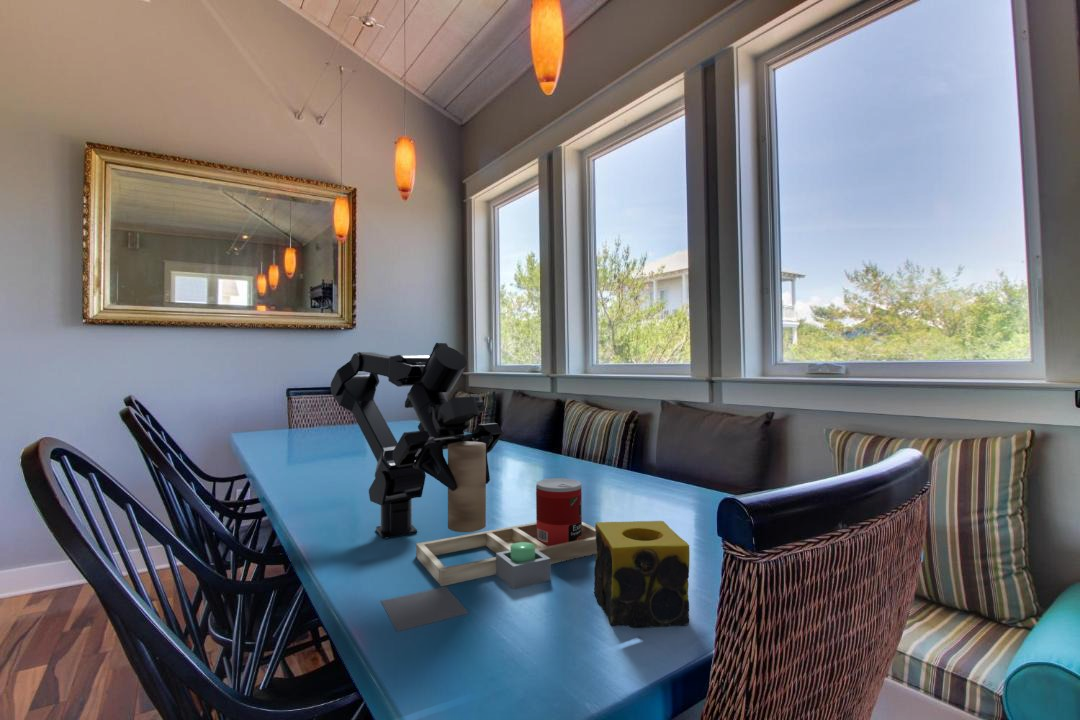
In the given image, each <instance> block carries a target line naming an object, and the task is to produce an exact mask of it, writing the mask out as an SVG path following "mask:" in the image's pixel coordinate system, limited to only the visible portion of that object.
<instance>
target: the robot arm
mask: <svg viewBox="0 0 1080 720" xmlns="http://www.w3.org/2000/svg"><path fill="white" fill-rule="evenodd" d="M467 364H468V363H467V359H466V357H465V355H464V354H462V353H461V352H459V351H458V350H457V349H455V348H452V347H450V346H449V345H448V343H447V342H435V344H434V346H433V348H432V350H431V353H430V355H429V354H395V355H387V354H381V353H377V352H374V351H373V352H372V351H369V352H368V351H367V352H366V351H363V352H362V351H358V352H356V353H353V355H352V356H351V358H350V360H349V361H348V362H347V363H345V364H344V365H342V366H340V367H339V368H338V369H337V370H336V371H335V374H334V376H333V377H332V379H331V382H330V392H331V395H332V396H333V398H334V400H335V401H336V402H337V403H338V405H339V406H340V407H341V408H343V409H346V410H347V411H350V412H351V413H352V414H353V417H354V419H355V421H356V422H357V424H358V427H359V429H360V430H361V432H362V434H363V436H364V437H365V440H366V442H367V444H368V446H369V448H370V450H371V452H372V455H373V456H374V458H375V460H376V462H377V463H376V468H375V471H374V480H373V481H372V483H371V485H370V487H369V489H368V496H369V501H370V502H371V503H374V504H376V505H379V506H380V525H378V526H376V527H375V531H376V532H377V533H378V534H379V536H380V538H382V539H389V538H394V537H401V536H407V535H412V534H417V533H418V529H417V528H416V527H415V526H414V525H413V523H412V522H413V521H412V520H413V519H412V515H413V514H412V510H413V509H412V500H413V499H417V498H422V497H423V491H424V487H425V482H426V478H427V475H429V476H431V477H432V478H434V479H435V480H437V481H438V482H439V483H441V484H442V485H443V486H445V487H446V488H447V489H448V488H449V489H451V490H452V491H455V490H456V488H457V484H456V482H455V479H454V476H453V474H452V472H451V470H450V468H449V466H448V461H446V458H445V455H444V451H446V450H447V451H448V444H450V443H455V442H482V443H485V444H486V485H487V484H489V482H490V480H491V479H490V478H491V476H490V469H489V461H488V454H489V453H490V452H491V451H492V450H493V449H494V447H495V446H496V445H497V443H498V442H499V440H500V439H501V438H502V436H503V434H504V432H503V430H502V428H501V426H500V424H499V423H496V422H489V423H479V424H477V426H476V427H475V429H474V430H473V432H472V433H468V434H466V433H465V430H467V429H468V428H469V427H470V425H471V424H470V420H473V418H478V417H479V416H480V414H481V413H482V412H484V411H485V409H486V406H485V402H484V400H483V398H482V397H481V396H480V394H479V393H478V394H477V393H475V394H470V395H469V396H458V397H457V396H456V397H452V398H449V399H448V398H447V397H446V396H445V394H444V393H448V392H450V391H452V390H453V388H454V386H455V385H456V383H457V382H458V380H459V378H460V376H461V375H462V373H463V372H464V370H465V368H466V367H467ZM359 372H365V373H359ZM379 376H383V377H386V378H388V379H387V380H388V382H389V383H390V384H393V386H394V385H395V386H396V387H402V388H403V387H411V388H410V390H409V391H408V392H407V397H406V399H405V401H404V408H405V409H411V408H413V411H415V412H414V413H415V414H416V417H417V418H418V420H419V423H418V426H417V429H418V430H414V431H407V432H406V431H405V432H403V433H402V435H401V437H400V438H399V440H398V441H397V439H396V437H395V436H394V433H392V431H391V428H390V427H389V424H388V423H387V421H386V419H385V418H384V416H383V413H382V412H381V411H380V409H379V407H378V405H377V403H376V402H375V399H374V398H375V396H376V392H377V387H378V385H379V384H380V379H379Z"/></svg>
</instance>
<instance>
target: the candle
mask: <svg viewBox="0 0 1080 720" xmlns="http://www.w3.org/2000/svg"><path fill="white" fill-rule="evenodd" d="M594 528H595V531H596V545H597V554H595V555H596V556H595V564H594V567H593V568H594V571H593V572H594V576H593V577H594V582H593V584H594V587H593V589H594V590H593V591H594V592H593V594H594V595H595V598H596V601H597V603H598V604H599V607H600V608H602V611H604V613H605V614H606V616H607V618H608V623H609V625H610V626H611V627H624V626H625V627H630V628H631V629H632V628H633V629H634V628H643V629H644V628H657V627H669V626H688V625H689V624H690V600H689V578H690V576H689V575H690V544H689V543H688V542H687V541H686V540H684V539H683V538H682V537H681V536H679V535H678V534H677V532H675V531H674V530H673V529H672V528H671V527H670V526H669V525H668V524H667V522H665V521H663V520H649V521H647V520H645V521H643V520H640V521H639V520H637V521H602V522H601V521H600V522H599V521H598V522H595V525H594Z"/></svg>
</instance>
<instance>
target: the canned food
mask: <svg viewBox="0 0 1080 720" xmlns="http://www.w3.org/2000/svg"><path fill="white" fill-rule="evenodd" d="M535 487H536V488H535V489H536V490H535V499H536V500H535V501H536V502H535V503H536V504H535V505H536V507H535V509H536V513H535V514H536V515H535V516H536V521H535V522H536V523H537V538H536V540H538V541H539V542H541V543H543V544H544V545H546V546H552V545H557V544H562V543H567V542H572V541H576V540H581V539H582V522H583V521H582V515H583V514H582V513H583V512H582V511H583V509H582V506H583V505H582V504H583V503H582V502H583V501H582V497H583V496H582V494H583V493H582V483H581V482H580V481H578V480H576V479H573V478H571V479H570V478H561V477H560V478H559V477H558V478H557V477H555V478H554V477H553V478H546V479H541V480H539V481H537V482H536V485H535Z"/></svg>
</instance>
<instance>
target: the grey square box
mask: <svg viewBox="0 0 1080 720" xmlns="http://www.w3.org/2000/svg"><path fill="white" fill-rule="evenodd" d="M495 557H496V574H495V575H496V576H497V577H498V578H500V579H501V580H503V582H505V583H506V584H507V585H508V586H510V588H512V589H513V590H516V589H521V588H524V587H528V586H532V585H536V584H541V583H544V582H549V581H551V579H552V577H551V576H552V575H551V573H552V572H551V571H552V569H551V565H552V564H551V559H550V558H549V557H547V556H546V555H544V554H543V553H541V552H540V551H538V550H537V549H535V560H531V561H526V562H521V563H517V564H516V563H515V562H513V561H512V560H511V550H509V551H504V552H499V553H495Z"/></svg>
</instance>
